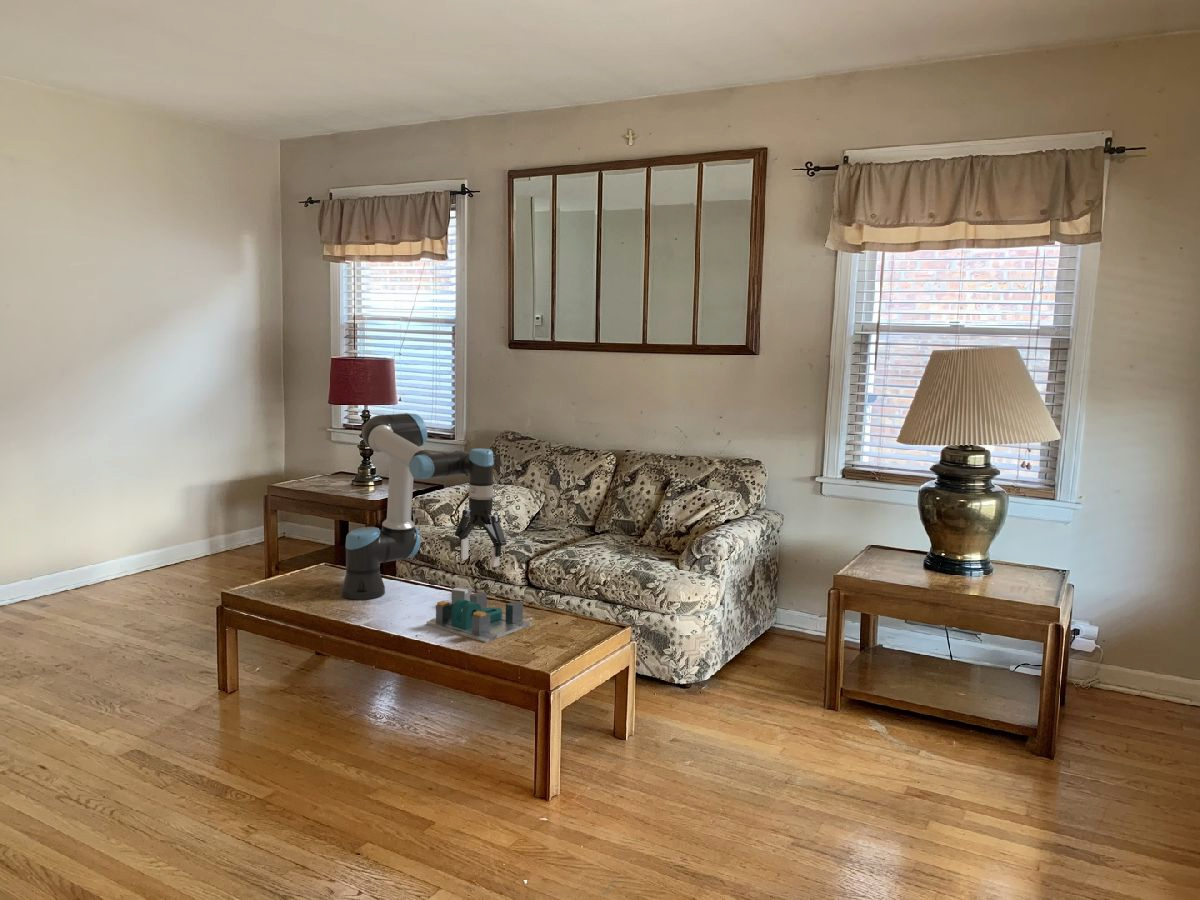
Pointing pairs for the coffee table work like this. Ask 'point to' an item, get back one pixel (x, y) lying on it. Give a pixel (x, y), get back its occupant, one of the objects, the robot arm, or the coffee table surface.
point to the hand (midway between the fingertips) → (479, 562)
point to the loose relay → (461, 593)
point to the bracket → (470, 613)
